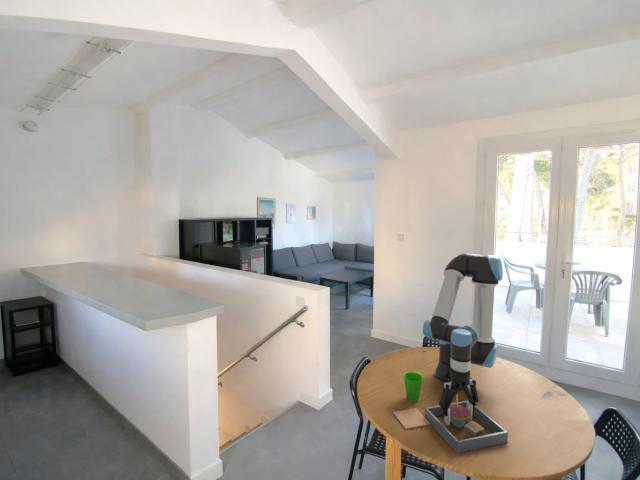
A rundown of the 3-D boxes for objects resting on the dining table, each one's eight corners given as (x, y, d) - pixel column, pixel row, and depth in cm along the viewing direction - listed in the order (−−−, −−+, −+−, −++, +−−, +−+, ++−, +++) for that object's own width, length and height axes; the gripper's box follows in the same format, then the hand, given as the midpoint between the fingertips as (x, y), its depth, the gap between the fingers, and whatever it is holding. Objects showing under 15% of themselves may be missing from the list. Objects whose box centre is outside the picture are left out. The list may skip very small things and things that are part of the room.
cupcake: (443, 417, 143) (444, 390, 142) (462, 416, 144) (463, 389, 142) (453, 431, 134) (454, 402, 133) (473, 429, 135) (474, 401, 134)
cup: (423, 405, 151) (424, 382, 150) (402, 403, 153) (403, 380, 152) (422, 394, 160) (422, 372, 159) (402, 392, 162) (402, 370, 161)
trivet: (416, 409, 149) (416, 408, 149) (430, 425, 138) (430, 423, 138) (393, 413, 146) (393, 411, 146) (405, 429, 135) (405, 428, 135)
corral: (468, 409, 149) (469, 400, 148) (507, 442, 128) (507, 432, 127) (424, 416, 143) (425, 407, 143) (457, 452, 123) (457, 442, 122)
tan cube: (473, 433, 133) (473, 421, 133) (484, 441, 129) (484, 428, 128) (463, 436, 131) (464, 424, 131) (474, 445, 126) (475, 432, 126)
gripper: (477, 360, 143) (475, 411, 145) (430, 367, 137) (428, 419, 140) (490, 369, 136) (488, 421, 138) (441, 376, 130) (439, 431, 132)
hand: (458, 420), depth 139 cm, fingers open, 10 cm apart
